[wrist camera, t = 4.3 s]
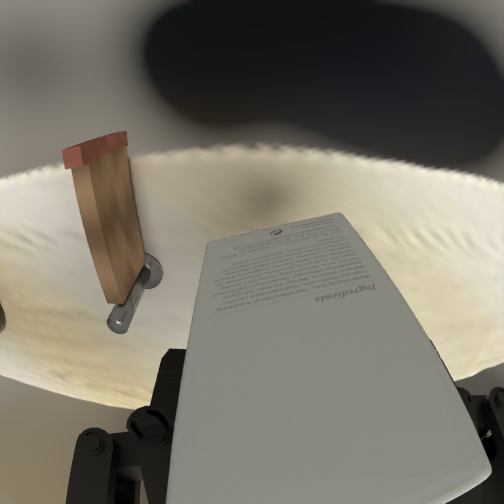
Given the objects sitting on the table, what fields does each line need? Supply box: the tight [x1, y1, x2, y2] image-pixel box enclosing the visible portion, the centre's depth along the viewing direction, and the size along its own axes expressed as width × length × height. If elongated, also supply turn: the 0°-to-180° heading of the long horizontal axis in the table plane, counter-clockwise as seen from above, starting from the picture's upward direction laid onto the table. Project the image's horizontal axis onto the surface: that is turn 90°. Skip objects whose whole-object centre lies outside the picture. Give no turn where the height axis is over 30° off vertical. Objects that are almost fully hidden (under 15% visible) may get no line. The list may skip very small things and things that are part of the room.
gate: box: [62, 131, 146, 304], centre depth 22 cm, size 13×2×8 cm, turn 1°
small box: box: [166, 213, 492, 504], centre depth 9 cm, size 8×6×10 cm
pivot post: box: [107, 253, 163, 334], centre depth 26 cm, size 4×4×9 cm
